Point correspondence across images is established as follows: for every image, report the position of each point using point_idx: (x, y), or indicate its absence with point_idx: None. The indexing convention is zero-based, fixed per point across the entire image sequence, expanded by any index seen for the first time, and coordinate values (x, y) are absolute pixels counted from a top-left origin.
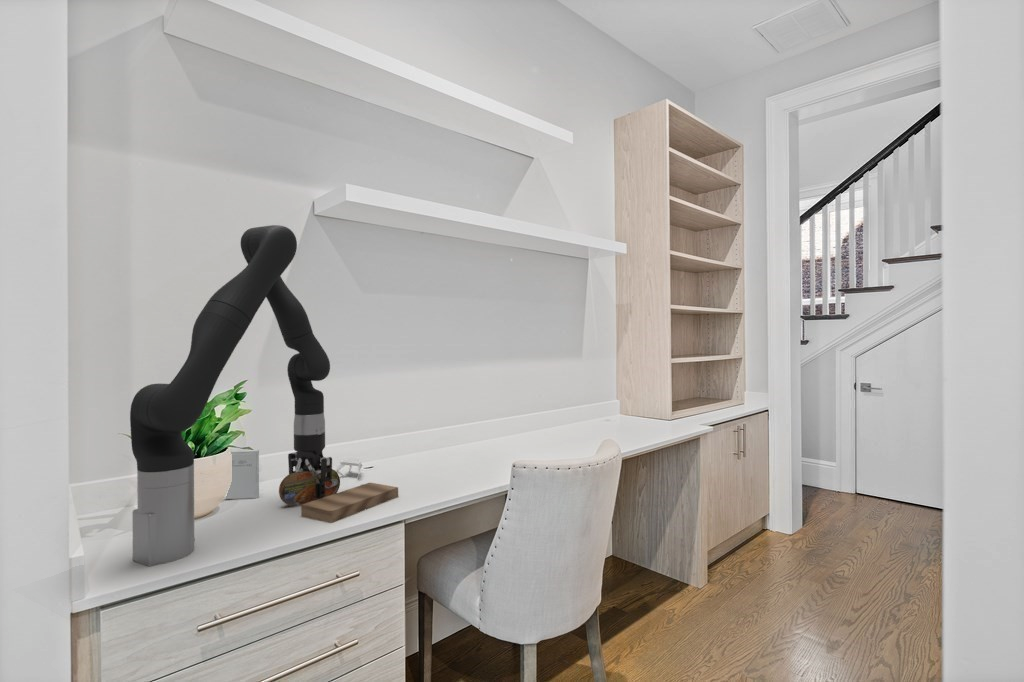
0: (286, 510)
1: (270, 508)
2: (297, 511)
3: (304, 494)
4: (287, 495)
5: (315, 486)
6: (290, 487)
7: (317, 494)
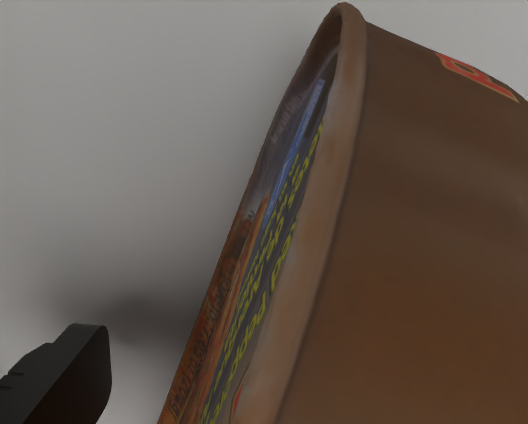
0: (252, 48)
1: (482, 13)
2: (122, 79)
3: (227, 314)
4: (306, 123)
5: (25, 418)
6: (293, 200)
7: (50, 346)
